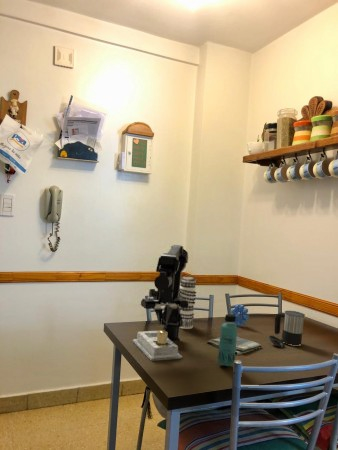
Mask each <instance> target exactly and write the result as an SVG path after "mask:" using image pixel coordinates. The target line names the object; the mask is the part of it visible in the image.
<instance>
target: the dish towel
mask: <svg viewBox="0 0 338 450" xmlns="http://www.w3.org/2000/svg"><path fill="white" fill-rule="evenodd" d="M219 343H220V337H217V338H214V339H210V340H207V341H206V344H208V345H211V346H213V347H215V348H218V349H219V345H220V344H219ZM259 347H261V348H262V344H260V343H258V342H255V341H253V340H250V339H246V338H242V337H239V336H237V339H236V350H235V352H236V354H235V355H236V356H241V355H243V353H244V354H246V353H249V352H252V351H255V350H254V349H256V350H258V349H257V348H259ZM259 349H260V348H259Z"/></svg>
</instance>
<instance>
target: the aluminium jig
mask: <svg viewBox="0 0 338 450" xmlns="http://www.w3.org/2000/svg"><path fill="white" fill-rule="evenodd" d="M158 331H159V330H147V331H146V330H145V331H137V335H136V338H133V339H132V342H133V344H134V345H135V346H136V347H137V348H138V349H139V350H140V351H141V352H142V353H143V354H144V356H146V357H147V359H149V360H150V361H151V362H156V361H167V360H178V359H179V360H180V359H182V358H183V355H182V354H180V353H179V346H178V345H177V344H176V343H174V341H173V340H170V339H168V338H167V345H163V346H158V345H157V334H158Z"/></svg>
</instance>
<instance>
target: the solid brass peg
mask: <svg viewBox="0 0 338 450" xmlns="http://www.w3.org/2000/svg"><path fill="white" fill-rule="evenodd" d="M157 331H158V334H157V345H158V346H163V345H167V334H168V332H167V331H164V330H163V329H162V330H161V329H160V330H157Z"/></svg>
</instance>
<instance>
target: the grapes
mask: <svg viewBox="0 0 338 450" xmlns="http://www.w3.org/2000/svg"><path fill="white" fill-rule="evenodd" d="M248 313H249V309H248V308H246V307H245V305H244V304H240V305H239V304H236V305H234V307H233V308H232V309H231V310H230V314H232V315H235V316H236V321H235V322H231V323H234V324H235V325H236V326H237V327H241V326H242V325H245V324H247V320H248V319H249V318H250V315H249V314H248Z"/></svg>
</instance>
